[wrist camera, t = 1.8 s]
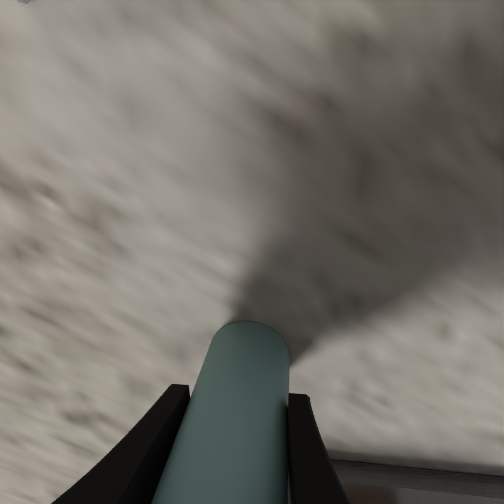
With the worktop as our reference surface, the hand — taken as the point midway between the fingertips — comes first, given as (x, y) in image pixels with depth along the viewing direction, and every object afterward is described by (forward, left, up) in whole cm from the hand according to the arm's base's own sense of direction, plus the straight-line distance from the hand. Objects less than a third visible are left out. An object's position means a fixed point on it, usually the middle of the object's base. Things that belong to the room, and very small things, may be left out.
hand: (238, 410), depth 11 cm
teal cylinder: (0, 0, -3) cm, 3 cm away
